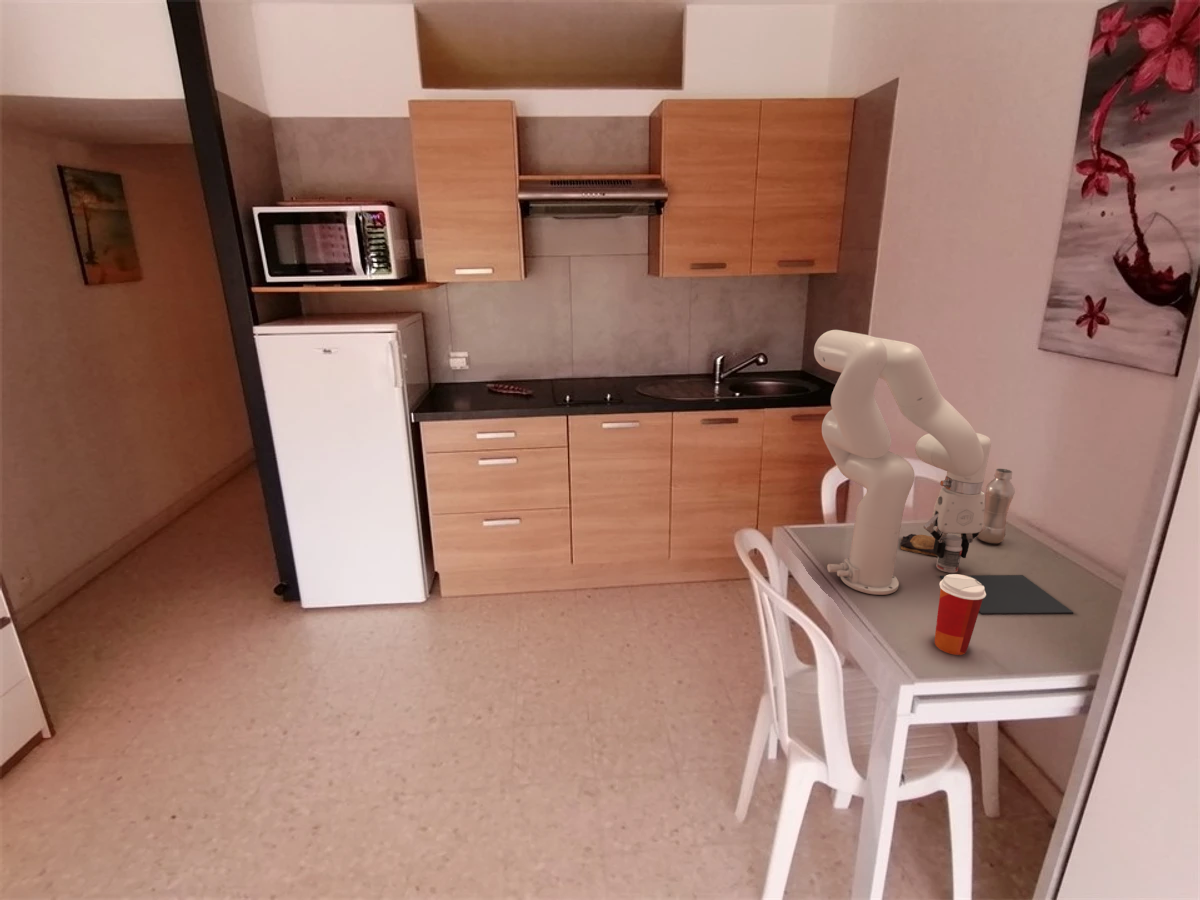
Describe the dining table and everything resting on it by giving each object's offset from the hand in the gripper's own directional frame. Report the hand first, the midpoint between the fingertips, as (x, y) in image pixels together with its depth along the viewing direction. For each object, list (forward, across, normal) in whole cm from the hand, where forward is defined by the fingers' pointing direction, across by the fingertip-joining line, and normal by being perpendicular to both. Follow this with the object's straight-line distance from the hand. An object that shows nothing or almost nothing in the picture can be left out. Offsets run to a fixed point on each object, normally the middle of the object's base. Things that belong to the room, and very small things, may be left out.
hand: (949, 554), depth 148 cm
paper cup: (+4, -17, -31) cm, 36 cm away
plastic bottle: (+4, +20, +15) cm, 25 cm away
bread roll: (+4, 0, +11) cm, 12 cm away
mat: (+4, +6, -12) cm, 14 cm away
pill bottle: (+4, 0, 0) cm, 4 cm away
